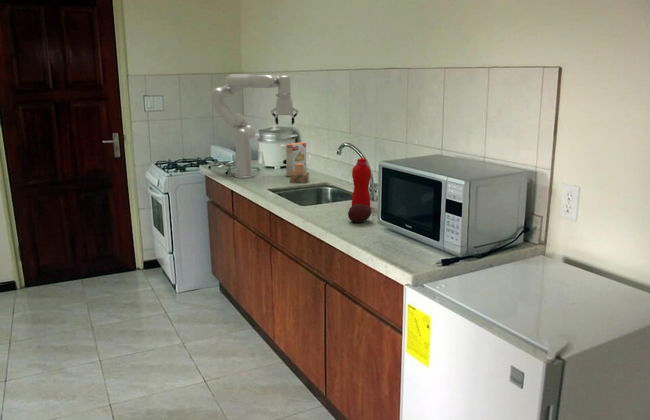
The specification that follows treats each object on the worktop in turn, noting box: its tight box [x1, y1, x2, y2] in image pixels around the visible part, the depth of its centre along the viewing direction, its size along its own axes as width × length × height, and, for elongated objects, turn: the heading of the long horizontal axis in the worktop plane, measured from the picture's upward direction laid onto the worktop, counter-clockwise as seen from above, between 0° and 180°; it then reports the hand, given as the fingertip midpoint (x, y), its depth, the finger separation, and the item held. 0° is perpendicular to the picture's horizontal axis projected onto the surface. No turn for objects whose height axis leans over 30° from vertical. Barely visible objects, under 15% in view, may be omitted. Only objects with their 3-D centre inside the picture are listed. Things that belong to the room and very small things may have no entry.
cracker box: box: [285, 141, 307, 177], centre depth 346 cm, size 14×6×21 cm, turn 143°
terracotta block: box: [295, 163, 304, 174], centre depth 327 cm, size 5×5×6 cm
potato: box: [347, 204, 372, 224], centre depth 241 cm, size 12×11×8 cm
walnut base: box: [289, 171, 310, 184], centre depth 328 cm, size 10×10×5 cm
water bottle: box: [348, 157, 372, 209], centre depth 263 cm, size 9×11×25 cm
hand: (284, 124), depth 329 cm, fingers open, 9 cm apart
